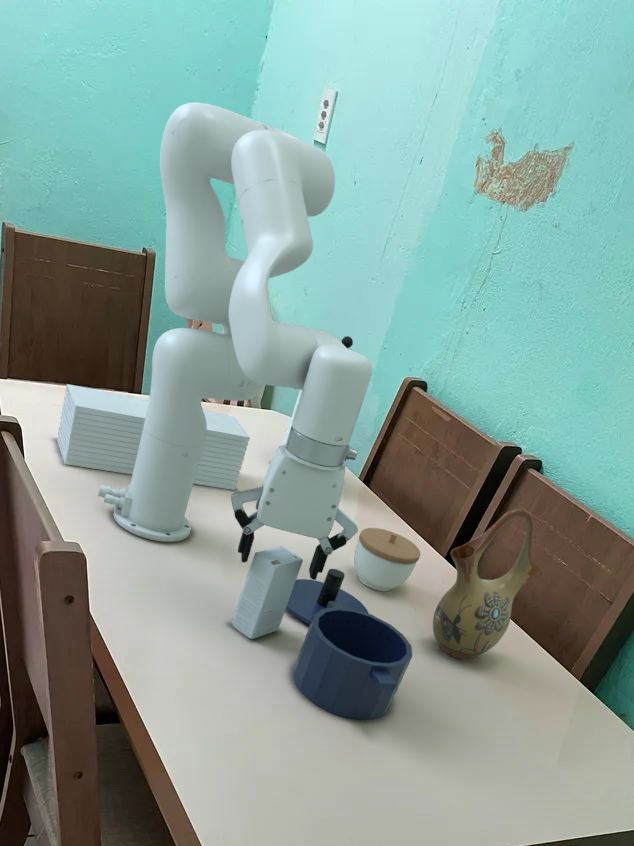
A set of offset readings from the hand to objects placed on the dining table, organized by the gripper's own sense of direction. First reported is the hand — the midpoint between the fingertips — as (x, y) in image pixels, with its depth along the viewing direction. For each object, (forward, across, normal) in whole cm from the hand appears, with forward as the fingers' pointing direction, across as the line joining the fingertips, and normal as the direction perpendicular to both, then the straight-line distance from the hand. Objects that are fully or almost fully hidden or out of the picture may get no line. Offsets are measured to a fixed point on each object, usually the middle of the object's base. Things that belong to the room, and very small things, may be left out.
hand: (278, 566), depth 118 cm
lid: (+10, -11, -12) cm, 19 cm away
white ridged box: (+10, +20, -52) cm, 56 cm away
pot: (+11, -12, +9) cm, 18 cm away
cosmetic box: (+11, 0, -1) cm, 11 cm away
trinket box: (+10, -22, -27) cm, 36 cm away
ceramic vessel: (+11, -33, -9) cm, 35 cm away
